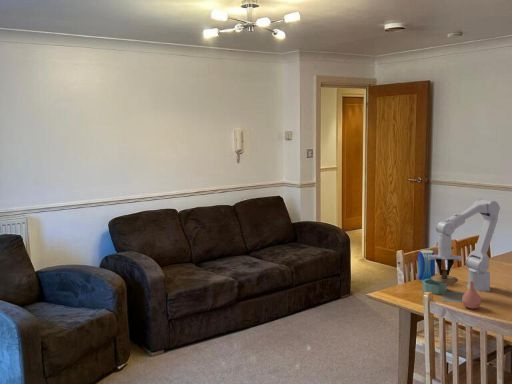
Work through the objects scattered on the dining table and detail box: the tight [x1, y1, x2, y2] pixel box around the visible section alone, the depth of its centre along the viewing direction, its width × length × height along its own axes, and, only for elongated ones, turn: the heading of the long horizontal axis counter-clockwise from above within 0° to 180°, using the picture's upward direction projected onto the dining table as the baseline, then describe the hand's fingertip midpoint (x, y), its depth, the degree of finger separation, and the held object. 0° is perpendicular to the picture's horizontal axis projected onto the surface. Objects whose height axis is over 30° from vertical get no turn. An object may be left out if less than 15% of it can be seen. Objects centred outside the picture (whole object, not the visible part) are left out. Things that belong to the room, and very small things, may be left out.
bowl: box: [421, 279, 448, 295], centre depth 244 cm, size 11×11×4 cm
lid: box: [431, 268, 459, 284], centre depth 238 cm, size 12×12×5 cm
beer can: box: [417, 249, 436, 283], centre depth 258 cm, size 8×8×16 cm
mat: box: [441, 291, 466, 303], centre depth 234 cm, size 14×14×1 cm
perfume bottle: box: [461, 282, 482, 309], centre depth 219 cm, size 8×8×12 cm
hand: (444, 274), depth 238 cm, fingers closed on lid, 3 cm apart
